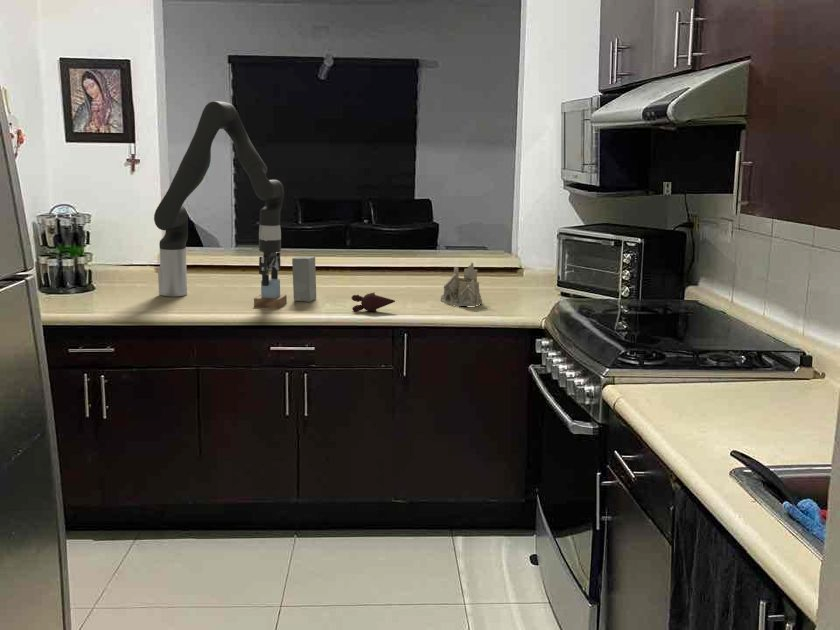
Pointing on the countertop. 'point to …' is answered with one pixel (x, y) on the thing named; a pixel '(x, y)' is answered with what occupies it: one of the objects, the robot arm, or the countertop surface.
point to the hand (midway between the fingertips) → (270, 283)
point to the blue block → (271, 289)
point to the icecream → (370, 302)
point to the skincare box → (304, 278)
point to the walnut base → (270, 301)
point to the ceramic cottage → (462, 289)
